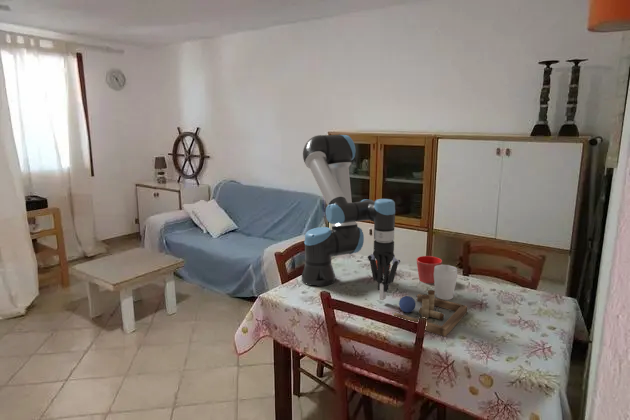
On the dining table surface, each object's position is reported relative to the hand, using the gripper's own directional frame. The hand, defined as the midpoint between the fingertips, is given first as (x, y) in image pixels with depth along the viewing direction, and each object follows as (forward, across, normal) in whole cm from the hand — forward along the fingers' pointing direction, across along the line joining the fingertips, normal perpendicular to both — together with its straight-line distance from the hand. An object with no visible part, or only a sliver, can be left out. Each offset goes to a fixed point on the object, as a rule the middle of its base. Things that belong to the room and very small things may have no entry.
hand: (382, 298), depth 162 cm
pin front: (+1, +15, 0) cm, 15 cm away
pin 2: (+2, +18, +2) cm, 19 cm away
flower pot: (+2, +5, +33) cm, 33 cm away
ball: (-1, +11, -1) cm, 11 cm away
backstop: (+2, +19, 0) cm, 19 cm away
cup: (+2, +17, +20) cm, 26 cm away
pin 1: (+2, +18, -2) cm, 19 cm away
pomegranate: (+2, -17, +31) cm, 35 cm away
